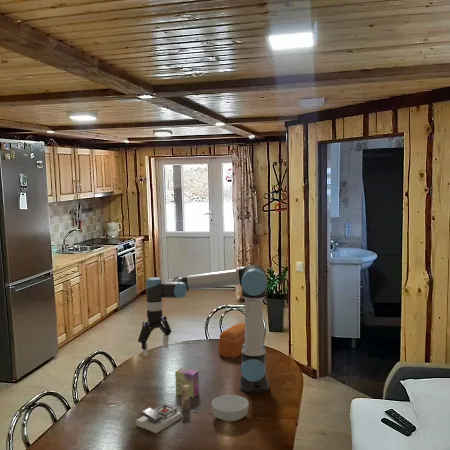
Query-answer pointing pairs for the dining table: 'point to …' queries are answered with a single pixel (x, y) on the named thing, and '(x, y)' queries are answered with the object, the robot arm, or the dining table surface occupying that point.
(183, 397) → the dowel
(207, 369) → the dining table surface
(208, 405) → the dining table surface
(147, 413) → the rocker
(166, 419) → the box
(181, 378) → the box
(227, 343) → the bread
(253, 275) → the robot arm
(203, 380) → the dining table surface
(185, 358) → the dining table surface
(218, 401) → the cereal bowl
